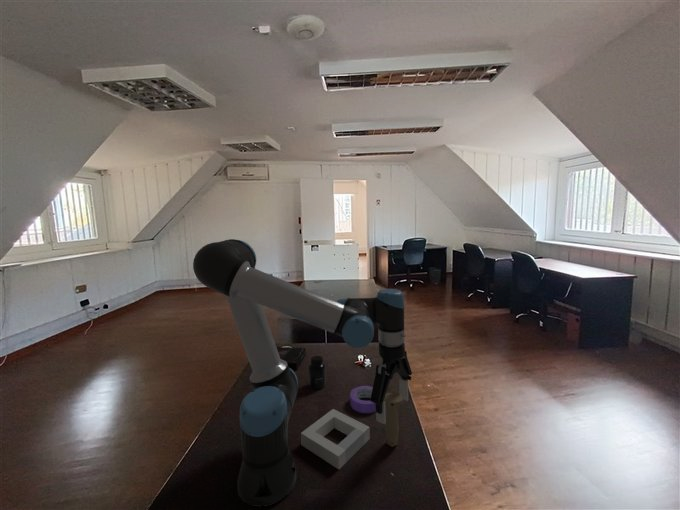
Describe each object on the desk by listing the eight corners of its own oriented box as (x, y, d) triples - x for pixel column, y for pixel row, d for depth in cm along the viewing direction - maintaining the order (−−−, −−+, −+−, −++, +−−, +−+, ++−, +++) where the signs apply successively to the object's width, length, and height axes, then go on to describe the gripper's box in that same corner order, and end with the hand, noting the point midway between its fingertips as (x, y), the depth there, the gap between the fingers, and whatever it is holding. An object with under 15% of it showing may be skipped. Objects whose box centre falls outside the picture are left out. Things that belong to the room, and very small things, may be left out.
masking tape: (388, 403, 114) (387, 393, 114) (368, 418, 106) (368, 407, 105) (363, 391, 122) (363, 382, 122) (343, 404, 114) (343, 395, 113)
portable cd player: (273, 354, 159) (273, 346, 158) (305, 355, 156) (305, 348, 156) (261, 369, 143) (260, 361, 142) (296, 371, 140) (296, 363, 140)
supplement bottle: (319, 391, 122) (318, 363, 121) (305, 387, 126) (304, 359, 125) (328, 383, 128) (328, 356, 127) (315, 379, 132) (314, 352, 130)
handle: (403, 450, 91) (403, 402, 89) (381, 448, 91) (381, 401, 90) (402, 438, 95) (402, 393, 94) (381, 437, 96) (381, 392, 94)
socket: (339, 469, 84) (338, 456, 84) (301, 445, 94) (300, 433, 93) (369, 438, 96) (369, 426, 95) (333, 419, 105) (333, 408, 105)
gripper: (379, 362, 78) (381, 439, 80) (422, 331, 97) (422, 394, 99) (355, 354, 82) (358, 427, 85) (400, 327, 101) (401, 387, 104)
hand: (393, 410), depth 92 cm, fingers open, 13 cm apart
